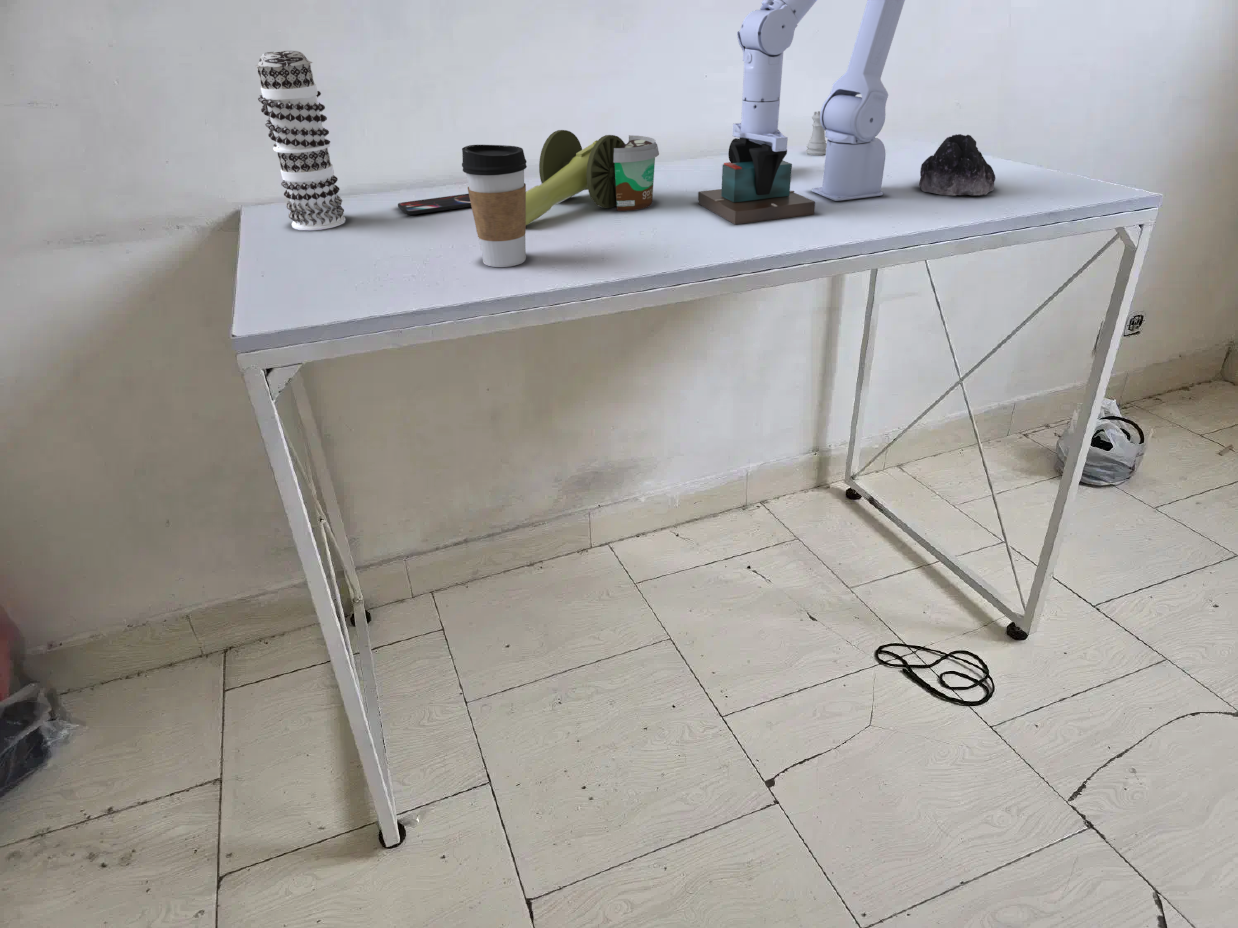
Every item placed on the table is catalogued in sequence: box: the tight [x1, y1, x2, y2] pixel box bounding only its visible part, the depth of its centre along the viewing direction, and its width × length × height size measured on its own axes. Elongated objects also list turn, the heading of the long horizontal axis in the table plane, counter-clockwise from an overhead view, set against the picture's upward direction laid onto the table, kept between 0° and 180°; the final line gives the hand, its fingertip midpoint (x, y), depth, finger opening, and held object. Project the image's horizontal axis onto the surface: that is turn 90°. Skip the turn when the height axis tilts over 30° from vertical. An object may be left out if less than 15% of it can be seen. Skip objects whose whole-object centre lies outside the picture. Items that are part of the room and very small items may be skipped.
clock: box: [697, 188, 816, 225], centre depth 131 cm, size 14×14×2 cm
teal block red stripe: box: [721, 159, 793, 203], centre depth 129 cm, size 10×5×5 cm, turn 109°
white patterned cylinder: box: [254, 50, 346, 231], centre depth 125 cm, size 9×9×25 cm
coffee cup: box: [461, 144, 528, 268], centre depth 108 cm, size 8×8×15 cm
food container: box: [614, 135, 660, 212], centre depth 134 cm, size 12×6×10 cm, turn 167°
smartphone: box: [397, 193, 472, 216], centre depth 138 cm, size 7×1×15 cm
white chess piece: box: [805, 110, 827, 156], centre depth 166 cm, size 4×4×8 cm
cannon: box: [526, 129, 626, 226], centre depth 131 cm, size 25×12×11 cm, turn 144°
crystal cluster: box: [918, 133, 997, 197], centre depth 137 cm, size 13×14×10 cm
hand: (755, 190), depth 130 cm, fingers closed on teal block red stripe, 4 cm apart
